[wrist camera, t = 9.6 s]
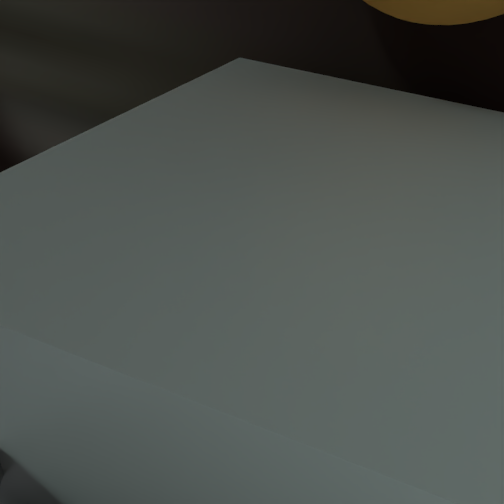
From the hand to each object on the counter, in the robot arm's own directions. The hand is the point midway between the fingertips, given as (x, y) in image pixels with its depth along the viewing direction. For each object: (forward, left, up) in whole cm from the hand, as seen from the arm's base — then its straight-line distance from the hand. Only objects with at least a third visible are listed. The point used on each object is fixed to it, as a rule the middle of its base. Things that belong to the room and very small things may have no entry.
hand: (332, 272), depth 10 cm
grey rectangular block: (0, 0, -2) cm, 2 cm away
